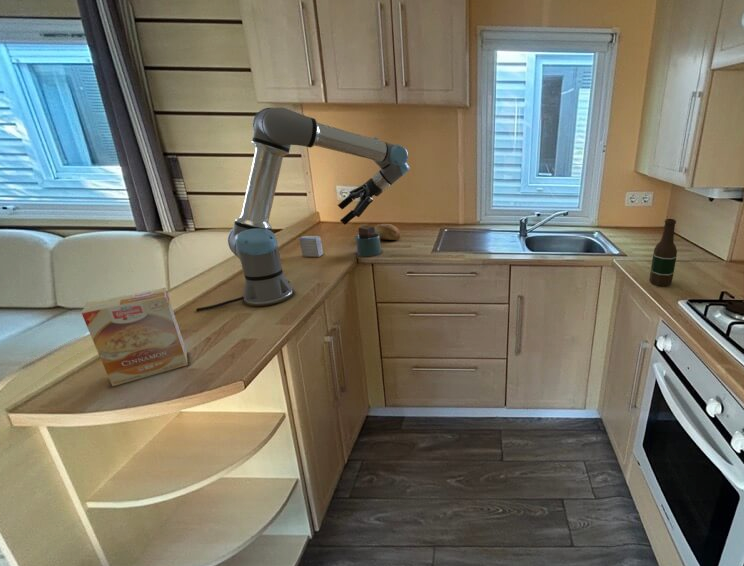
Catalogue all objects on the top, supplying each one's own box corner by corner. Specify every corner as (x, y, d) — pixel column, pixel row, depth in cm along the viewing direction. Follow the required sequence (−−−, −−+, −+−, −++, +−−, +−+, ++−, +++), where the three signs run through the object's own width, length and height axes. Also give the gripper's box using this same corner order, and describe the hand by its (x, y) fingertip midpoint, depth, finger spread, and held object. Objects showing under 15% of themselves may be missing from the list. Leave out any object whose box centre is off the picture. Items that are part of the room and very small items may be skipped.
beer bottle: (672, 281, 152) (684, 218, 143) (669, 288, 145) (681, 223, 136) (651, 277, 155) (660, 216, 146) (647, 284, 149) (657, 220, 140)
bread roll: (395, 243, 201) (394, 227, 198) (369, 240, 205) (367, 225, 202) (404, 238, 209) (403, 223, 206) (379, 235, 213) (377, 221, 210)
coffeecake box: (111, 387, 95) (79, 313, 87) (114, 373, 100) (85, 301, 93) (188, 365, 103) (165, 295, 95) (187, 353, 108) (165, 286, 101)
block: (368, 239, 181) (367, 229, 179) (359, 238, 183) (358, 228, 181) (375, 237, 185) (374, 226, 183) (366, 235, 187) (365, 225, 185)
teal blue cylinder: (360, 258, 180) (358, 240, 177) (354, 251, 189) (352, 234, 186) (384, 254, 185) (382, 236, 182) (377, 248, 194) (375, 231, 191)
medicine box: (323, 254, 186) (320, 235, 182) (319, 257, 182) (315, 238, 178) (307, 253, 186) (304, 235, 183) (302, 256, 182) (298, 238, 179)
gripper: (388, 203, 168) (350, 234, 171) (379, 178, 186) (345, 206, 189) (375, 191, 163) (336, 223, 166) (367, 166, 181) (332, 196, 184)
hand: (341, 214), depth 177 cm, fingers open, 13 cm apart
